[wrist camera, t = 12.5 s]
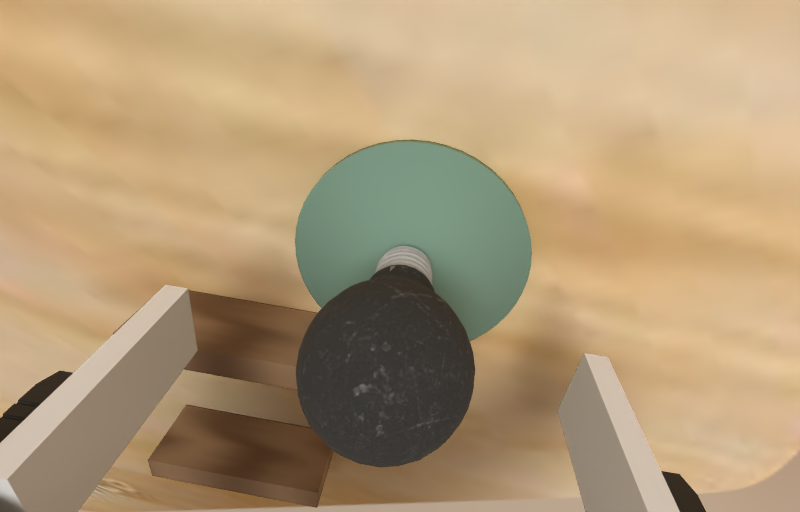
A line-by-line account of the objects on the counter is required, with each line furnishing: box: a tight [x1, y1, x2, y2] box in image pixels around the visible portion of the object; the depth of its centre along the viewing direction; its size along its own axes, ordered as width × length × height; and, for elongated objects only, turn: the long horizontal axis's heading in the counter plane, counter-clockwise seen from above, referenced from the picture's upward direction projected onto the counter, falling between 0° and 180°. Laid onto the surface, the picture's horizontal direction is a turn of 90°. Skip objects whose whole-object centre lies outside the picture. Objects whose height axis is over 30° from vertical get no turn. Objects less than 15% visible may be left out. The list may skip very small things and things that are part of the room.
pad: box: [295, 140, 532, 341], centre depth 20 cm, size 11×11×1 cm
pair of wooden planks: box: [113, 290, 333, 507], centre depth 24 cm, size 10×11×4 cm
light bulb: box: [296, 246, 475, 467], centre depth 15 cm, size 6×6×10 cm
